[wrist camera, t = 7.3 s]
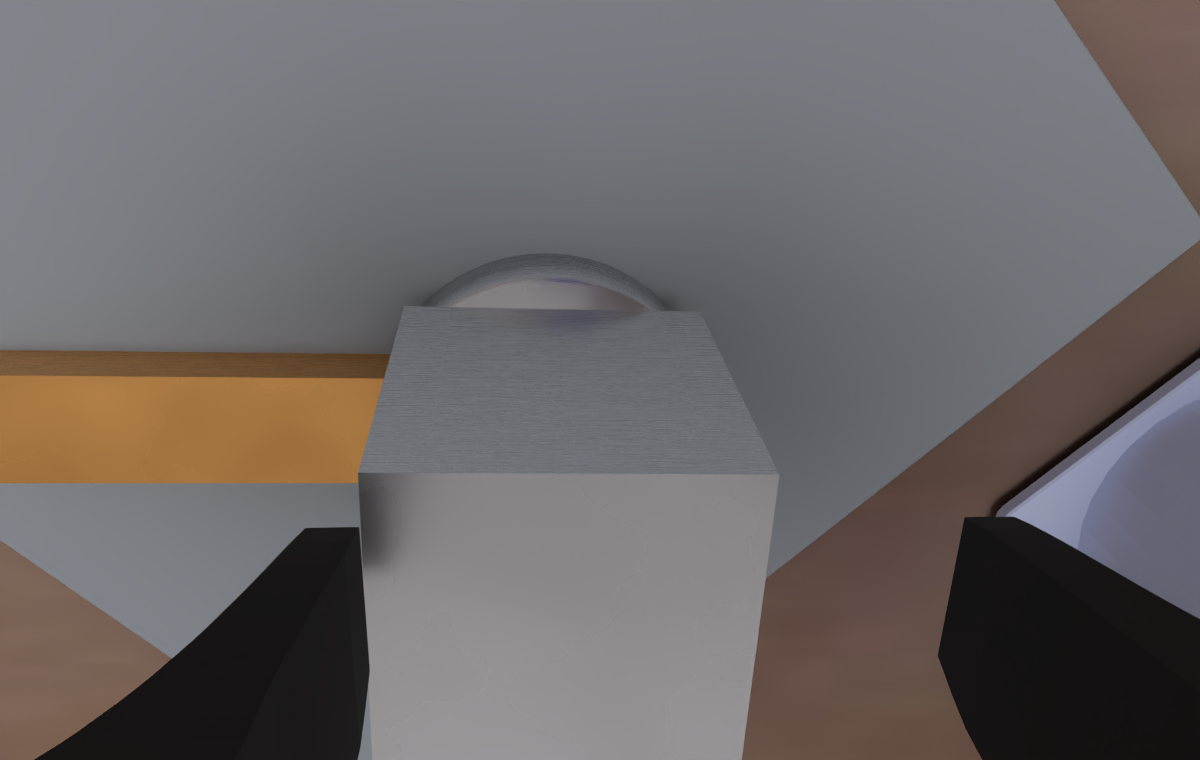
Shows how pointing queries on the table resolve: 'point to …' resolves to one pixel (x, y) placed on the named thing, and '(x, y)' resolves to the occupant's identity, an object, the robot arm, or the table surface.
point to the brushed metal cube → (561, 539)
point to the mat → (556, 220)
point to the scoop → (245, 394)
